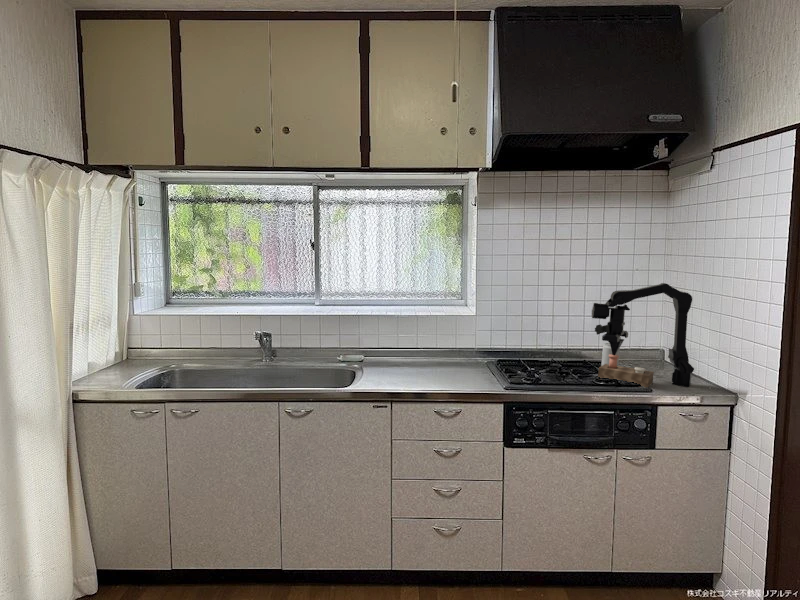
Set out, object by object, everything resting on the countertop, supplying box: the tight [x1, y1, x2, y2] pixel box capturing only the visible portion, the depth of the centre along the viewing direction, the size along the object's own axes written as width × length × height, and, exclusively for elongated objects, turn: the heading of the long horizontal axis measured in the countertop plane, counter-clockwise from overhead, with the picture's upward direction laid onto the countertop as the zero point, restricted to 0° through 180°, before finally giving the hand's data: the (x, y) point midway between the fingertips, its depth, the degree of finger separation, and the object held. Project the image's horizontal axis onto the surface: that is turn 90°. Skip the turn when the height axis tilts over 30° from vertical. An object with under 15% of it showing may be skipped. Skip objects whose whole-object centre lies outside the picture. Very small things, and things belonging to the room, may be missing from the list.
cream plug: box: [634, 366, 646, 374], centre depth 220 cm, size 4×4×6 cm
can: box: [600, 342, 621, 367], centre depth 246 cm, size 8×8×12 cm
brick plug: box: [609, 354, 620, 369], centre depth 226 cm, size 4×4×6 cm
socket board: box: [597, 364, 655, 389], centre depth 223 cm, size 20×10×5 cm, turn 53°
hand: (613, 355), depth 226 cm, fingers closed
